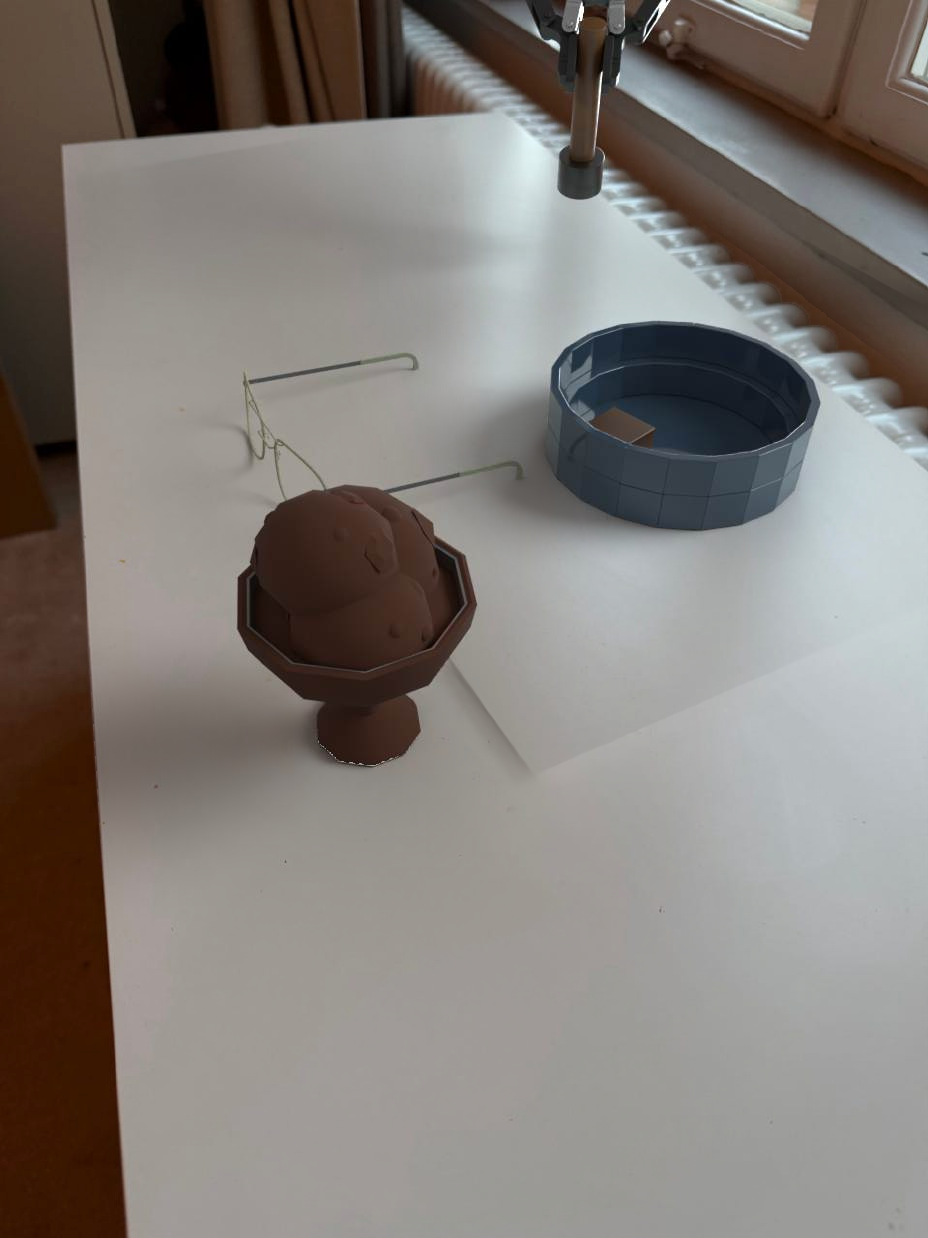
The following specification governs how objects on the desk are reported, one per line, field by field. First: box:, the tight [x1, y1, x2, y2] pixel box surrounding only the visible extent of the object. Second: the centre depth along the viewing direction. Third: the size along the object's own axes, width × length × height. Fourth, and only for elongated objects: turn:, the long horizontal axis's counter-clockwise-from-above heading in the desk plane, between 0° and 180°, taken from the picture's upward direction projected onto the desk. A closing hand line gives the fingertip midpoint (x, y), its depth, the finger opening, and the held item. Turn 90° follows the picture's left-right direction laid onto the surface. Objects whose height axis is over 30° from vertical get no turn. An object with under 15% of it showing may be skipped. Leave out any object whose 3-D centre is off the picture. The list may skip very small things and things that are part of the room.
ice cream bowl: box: [236, 483, 478, 765], centre depth 47 cm, size 11×11×15 cm
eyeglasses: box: [242, 351, 524, 501], centre depth 68 cm, size 16×15×5 cm
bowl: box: [544, 320, 822, 531], centre depth 67 cm, size 17×17×6 cm
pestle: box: [556, 16, 607, 201], centre depth 84 cm, size 4×4×14 cm
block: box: [588, 407, 655, 449], centre depth 65 cm, size 4×4×4 cm
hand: (587, 87), depth 80 cm, fingers closed on pestle, 2 cm apart
